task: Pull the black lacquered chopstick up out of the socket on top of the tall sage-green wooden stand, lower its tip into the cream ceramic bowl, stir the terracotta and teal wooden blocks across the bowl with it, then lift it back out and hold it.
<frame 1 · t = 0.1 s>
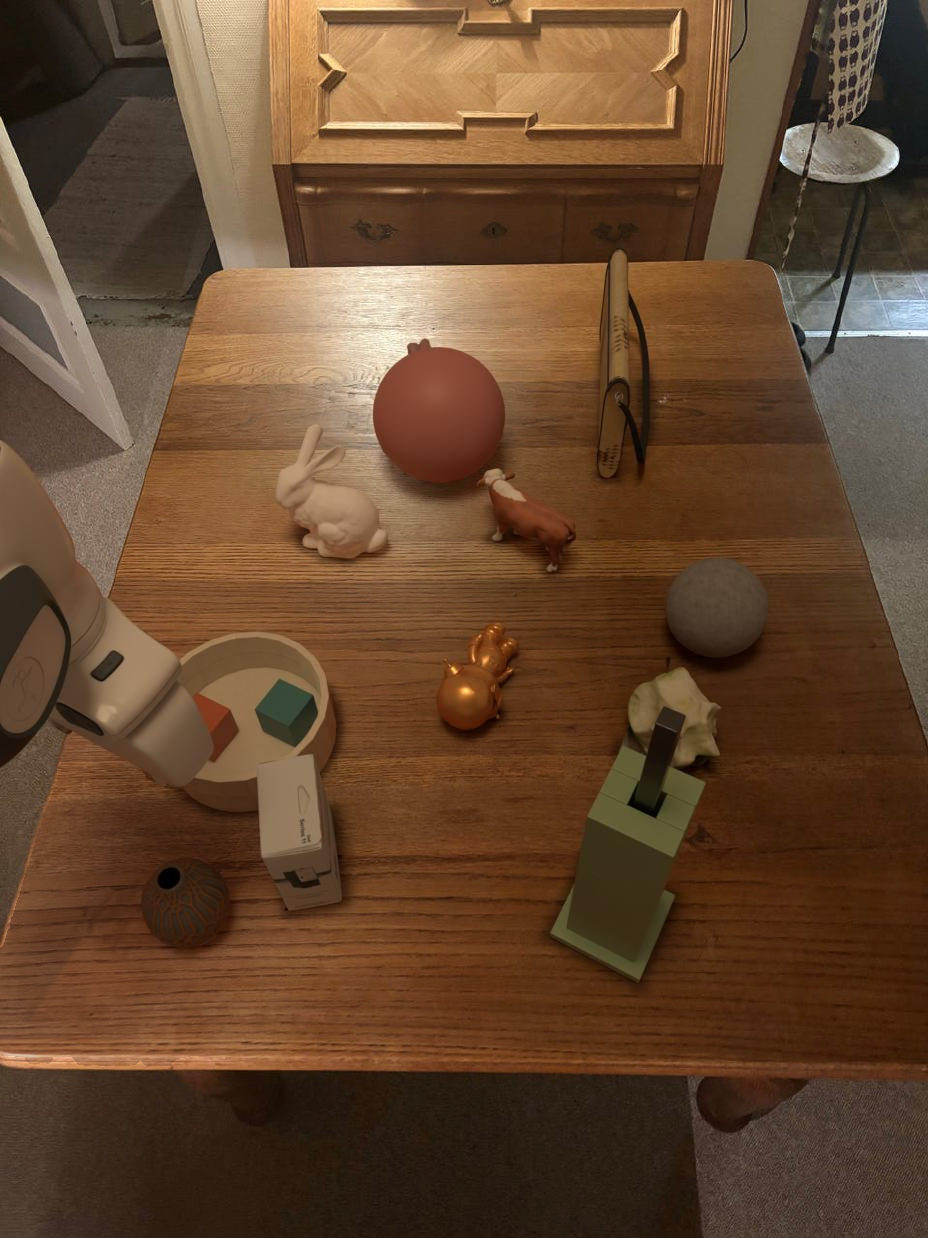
hand: (115, 749, 70), 17 cm above the table, tool pointing down, fingers open, 8 cm apart
balloon: (440, 453, 114), on the table
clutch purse: (622, 410, 118), on the table
stick stand: (612, 917, 78), on the table
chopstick: (632, 849, 66), point 14 cm above the table, touching stick stand
vase: (197, 918, 79), on the table
terracotta block: (210, 738, 88), point 1 cm above the table, touching bowl
cream irregular lump: (670, 737, 88), on the table
teal block: (291, 724, 89), point 1 cm above the table, touching bowl
bowl: (252, 735, 89), on the table
decorative ball: (706, 638, 96), on the table
figurine: (478, 691, 92), on the table
ink box: (311, 863, 81), on the table
rabbit: (333, 536, 106), on the table
bull figurine: (522, 544, 104), on the table
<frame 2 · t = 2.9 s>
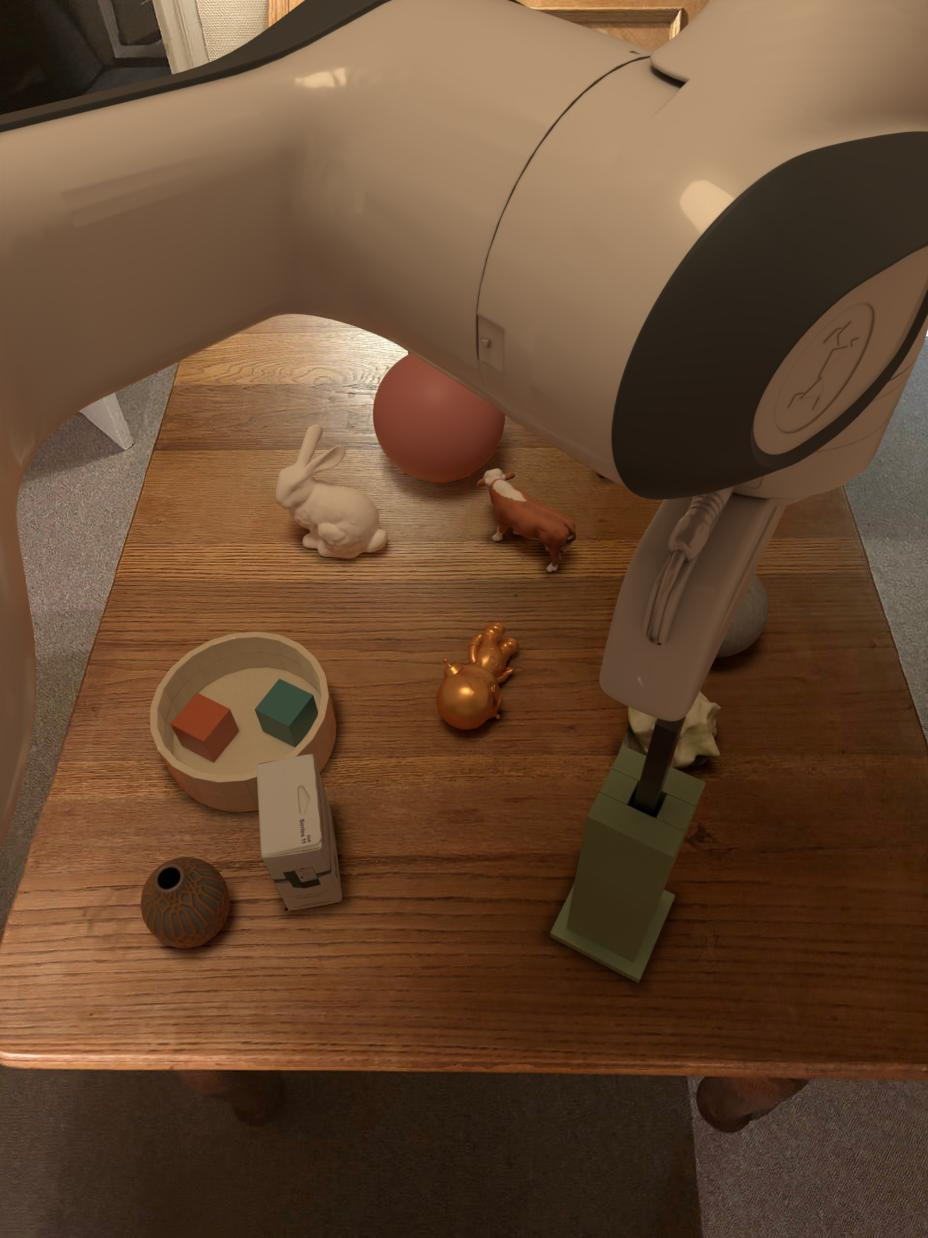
hand: (701, 615, 45), 42 cm above the table, tool pointing down, fingers open, 8 cm apart
nothing on the table moved.
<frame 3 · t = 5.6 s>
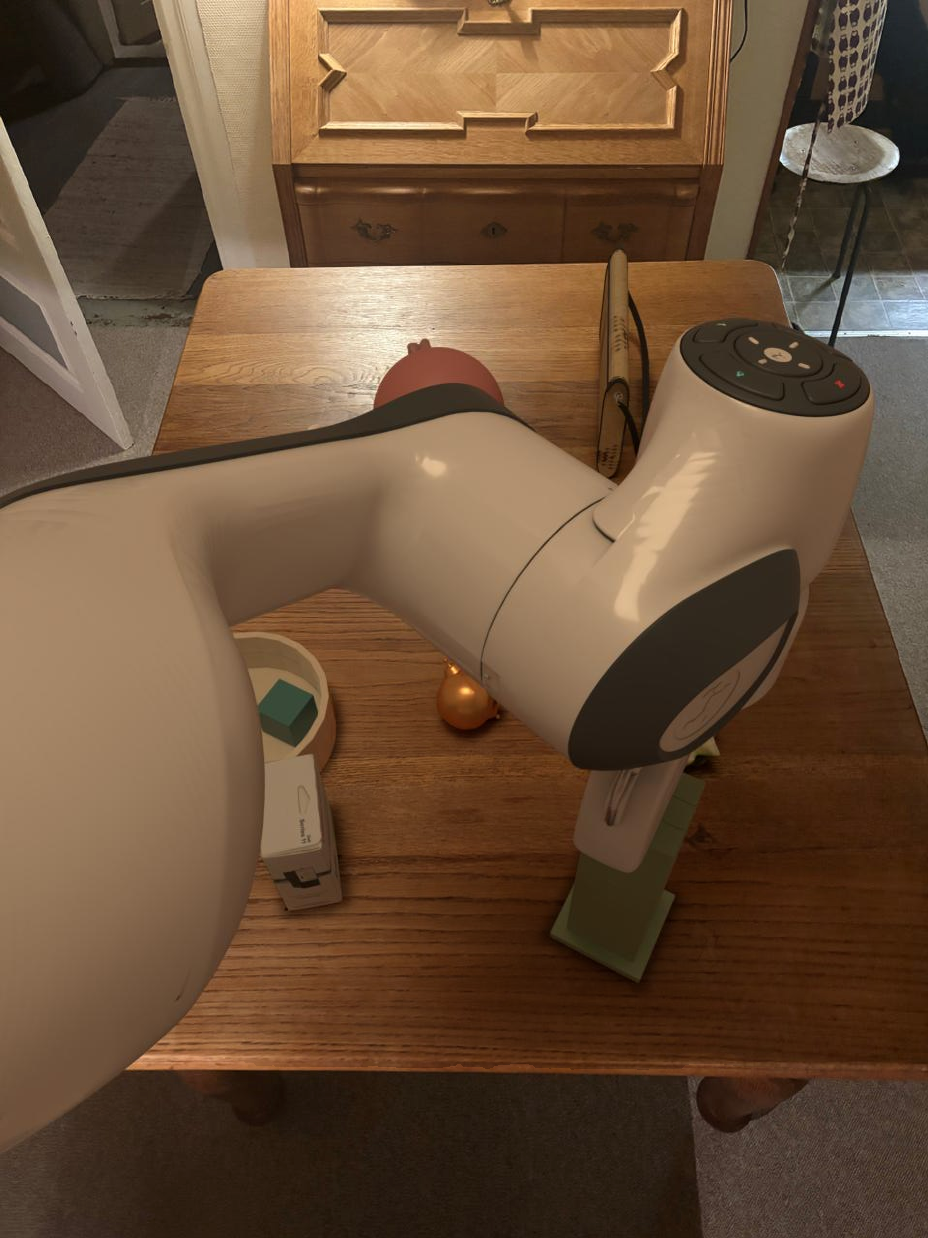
hand: (658, 761, 56), 27 cm above the table, tool pointing down, fingers closed on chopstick, 1 cm apart
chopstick: (632, 849, 66), point 14 cm above the table, touching gripper, stick stand
everything else where it was.
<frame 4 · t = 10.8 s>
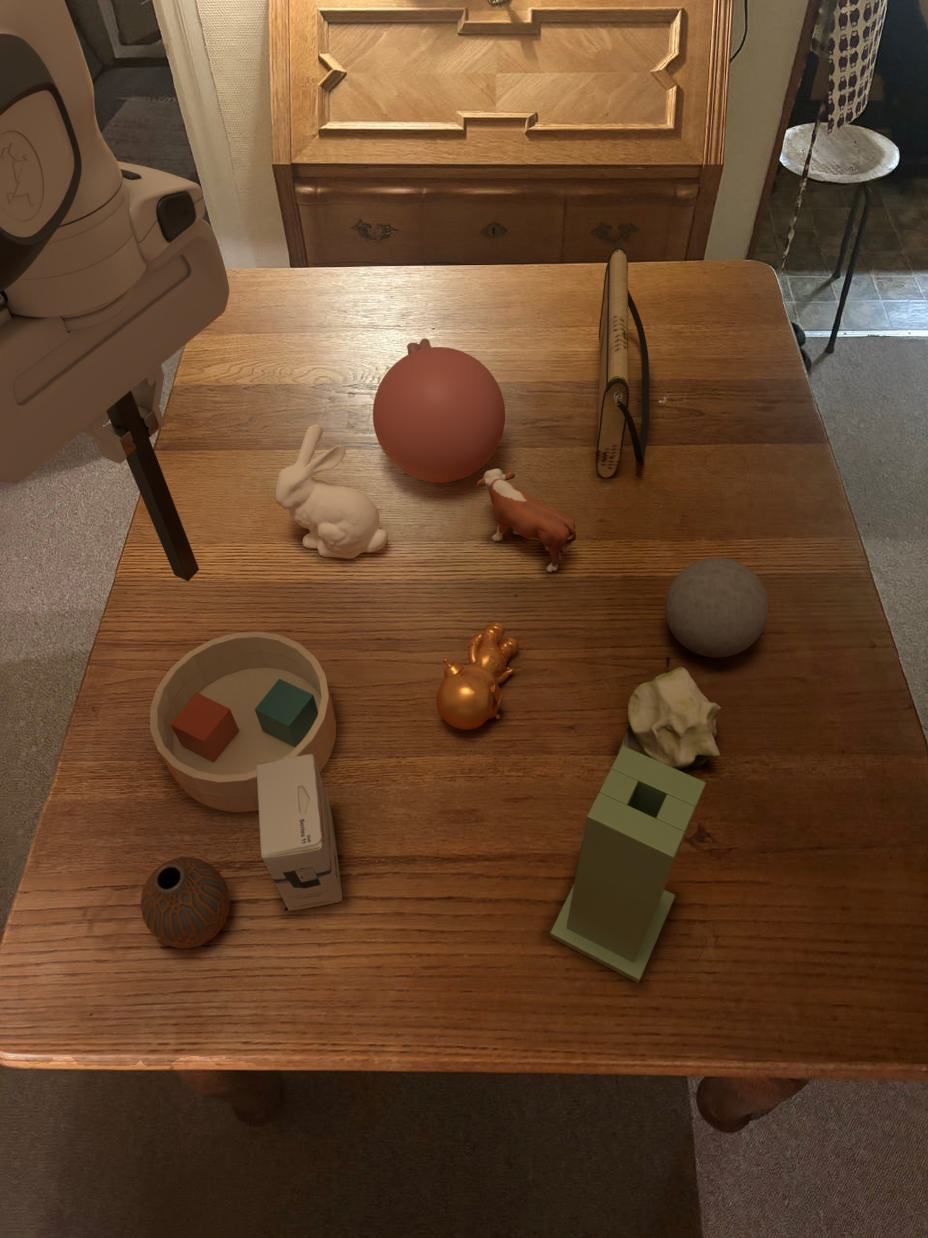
hand: (135, 441, 60), 38 cm above the table, tool pointing down, fingers closed on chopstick
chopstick: (187, 572, 70), point 24 cm above the table, touching gripper
everything else where it was.
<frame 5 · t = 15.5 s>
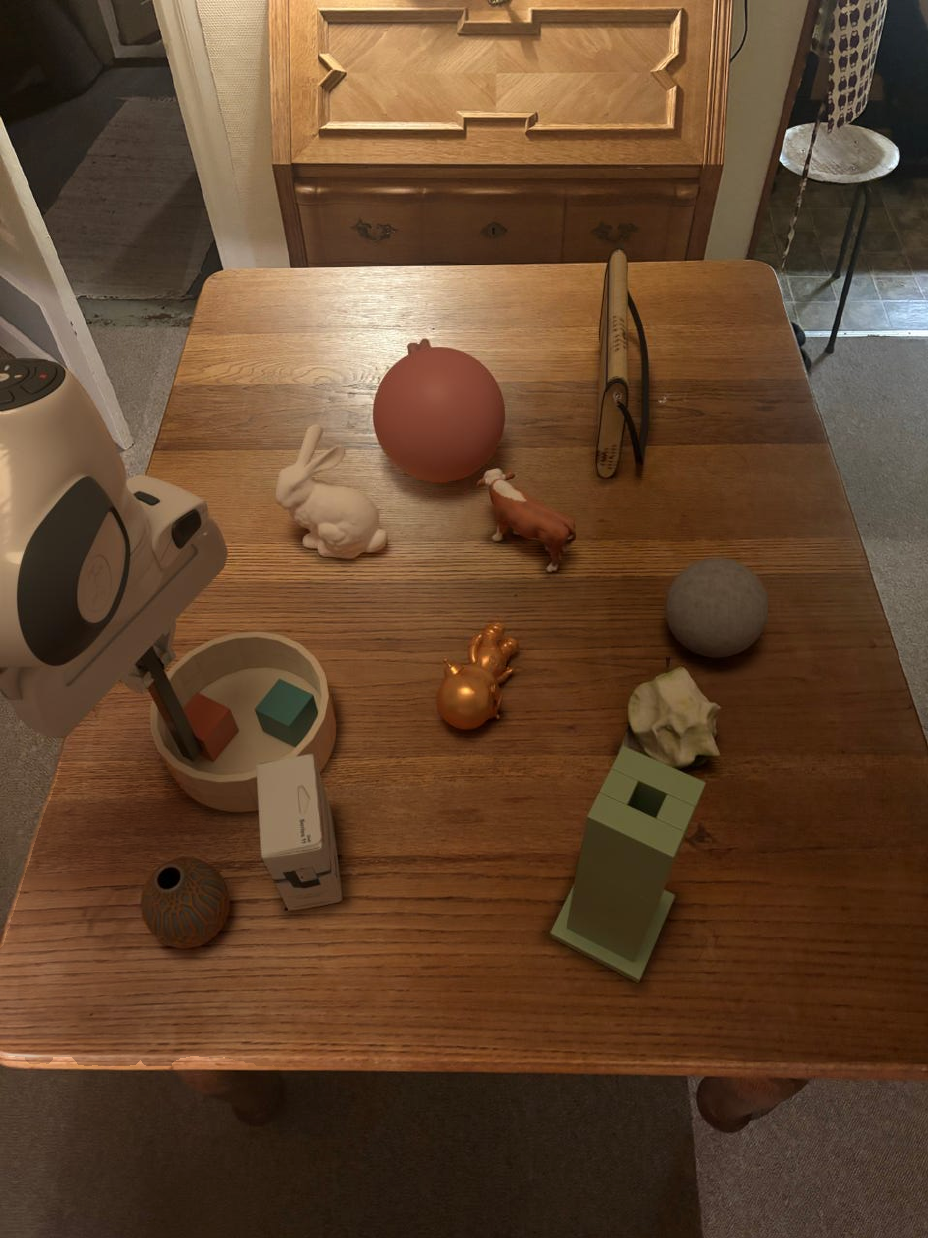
hand: (152, 672, 75), 16 cm above the table, tool pointing down, fingers closed on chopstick, 1 cm apart
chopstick: (192, 753, 85), point 2 cm above the table, touching gripper
everything else where it was.
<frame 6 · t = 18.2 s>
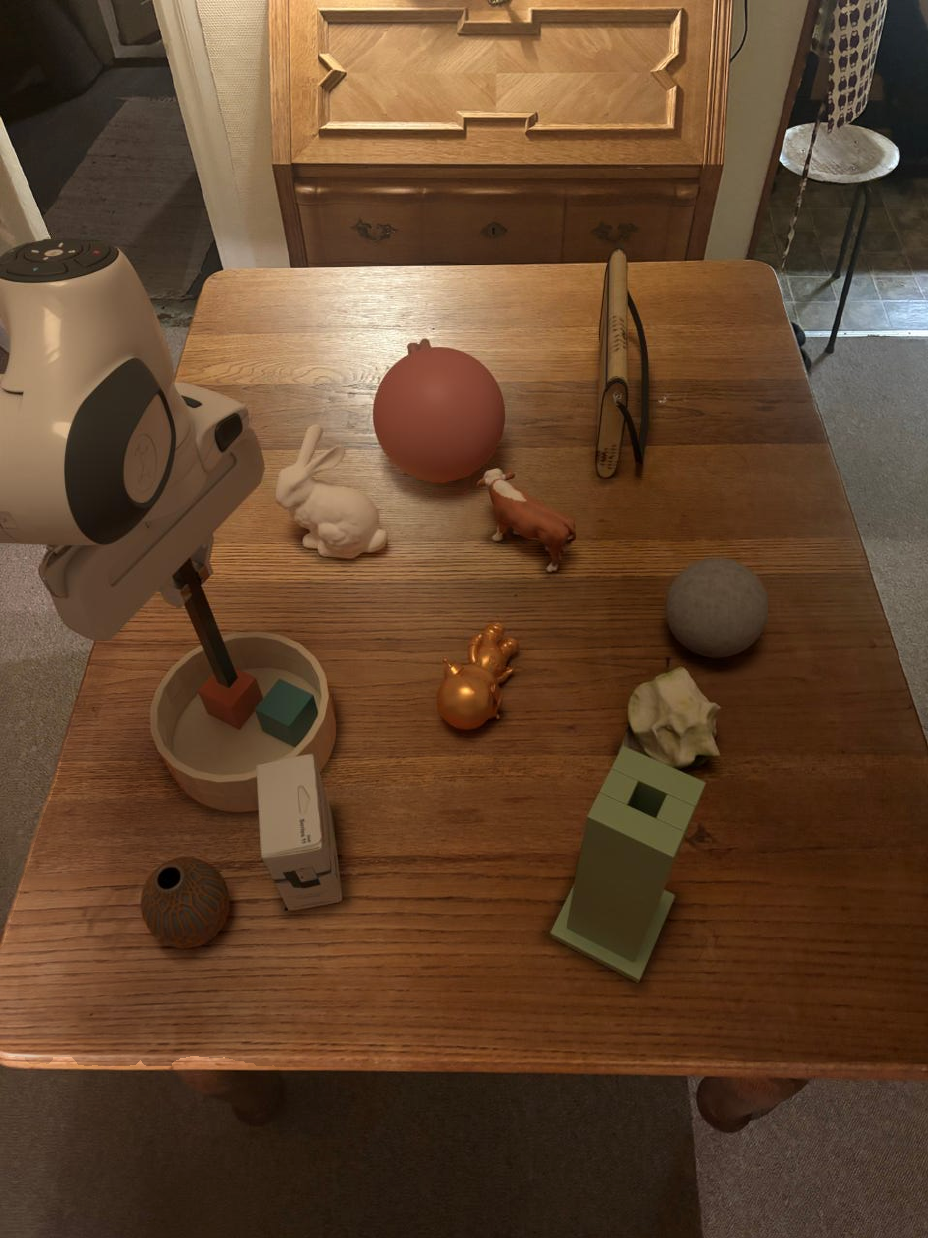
hand: (190, 588, 75), 20 cm above the table, tool pointing down, fingers closed on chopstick, 1 cm apart
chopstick: (228, 680, 86), point 6 cm above the table, touching gripper
terracotta block: (218, 711, 88), point 3 cm above the table, tilted 90°, touching bowl
everything else where it was.
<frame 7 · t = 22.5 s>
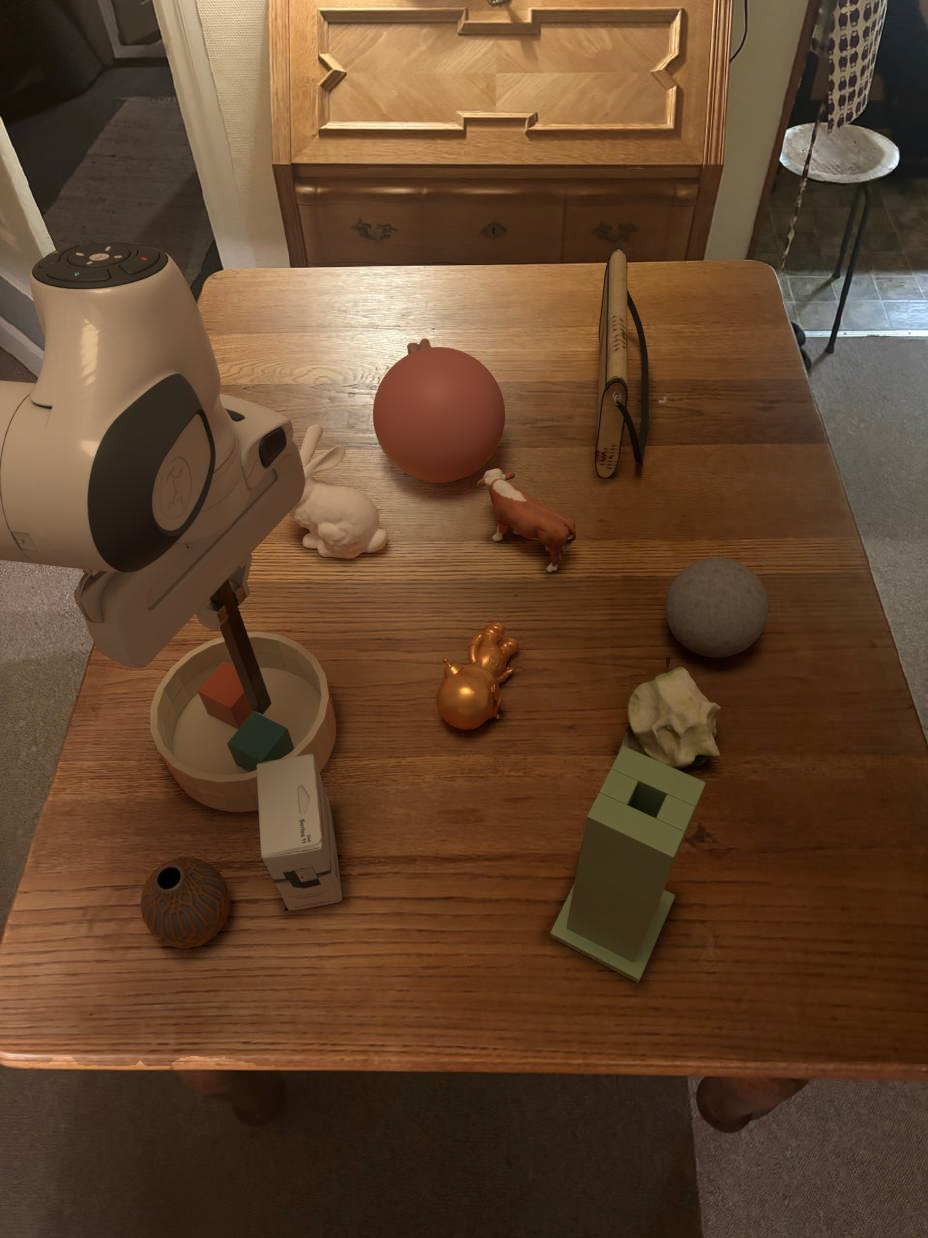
hand: (226, 609, 71), 22 cm above the table, tool pointing down, fingers closed on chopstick, 1 cm apart
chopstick: (261, 706, 82), point 8 cm above the table, touching gripper
teal block: (274, 730, 86), point 3 cm above the table, tilted 90°, touching bowl
everything else where it was.
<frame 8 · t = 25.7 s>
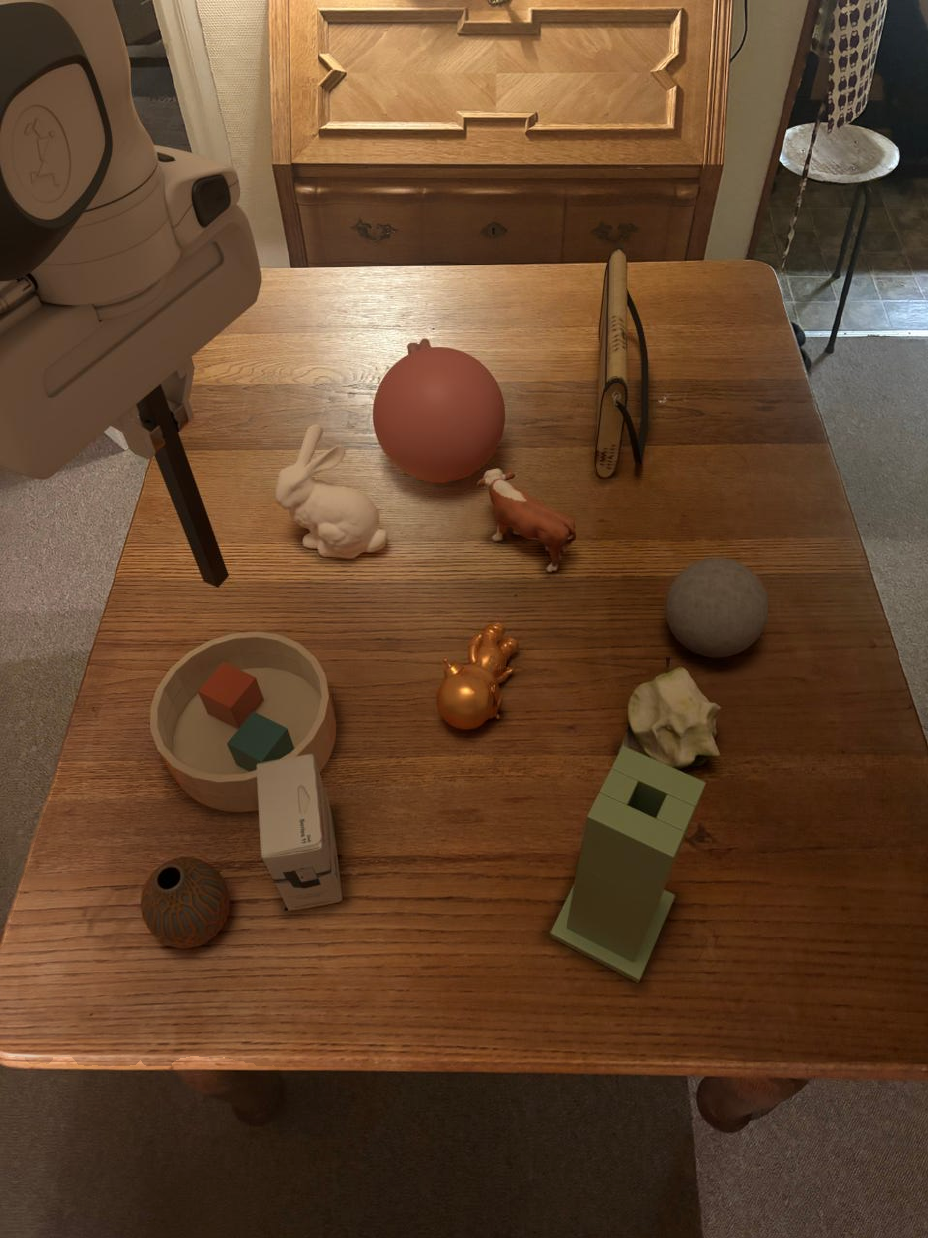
hand: (163, 436, 58), 39 cm above the table, tool pointing down, fingers closed on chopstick
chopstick: (216, 578, 68), point 25 cm above the table, touching gripper
everything else where it was.
at the end: terracotta block moved 2.9 cm from its start; terracotta block inside the target area in the bowl (3.0 cm from its centre), point 2.8 cm above the bowl's base; the gripper is holding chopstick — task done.
